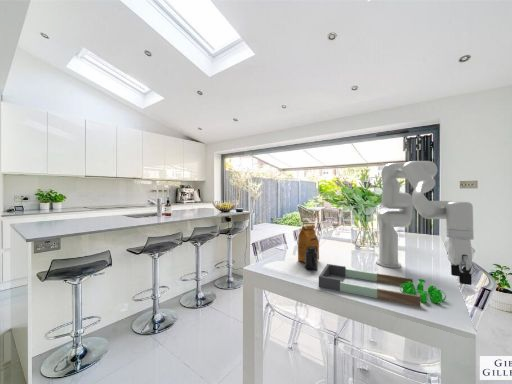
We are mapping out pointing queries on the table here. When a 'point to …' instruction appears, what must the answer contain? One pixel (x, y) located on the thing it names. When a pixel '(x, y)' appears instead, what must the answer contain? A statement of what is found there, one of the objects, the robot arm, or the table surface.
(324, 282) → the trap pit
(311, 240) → the coffee package
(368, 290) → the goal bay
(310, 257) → the supplement bottle
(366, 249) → the table surface
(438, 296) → the green bumpy clump
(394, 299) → the walnut channel
